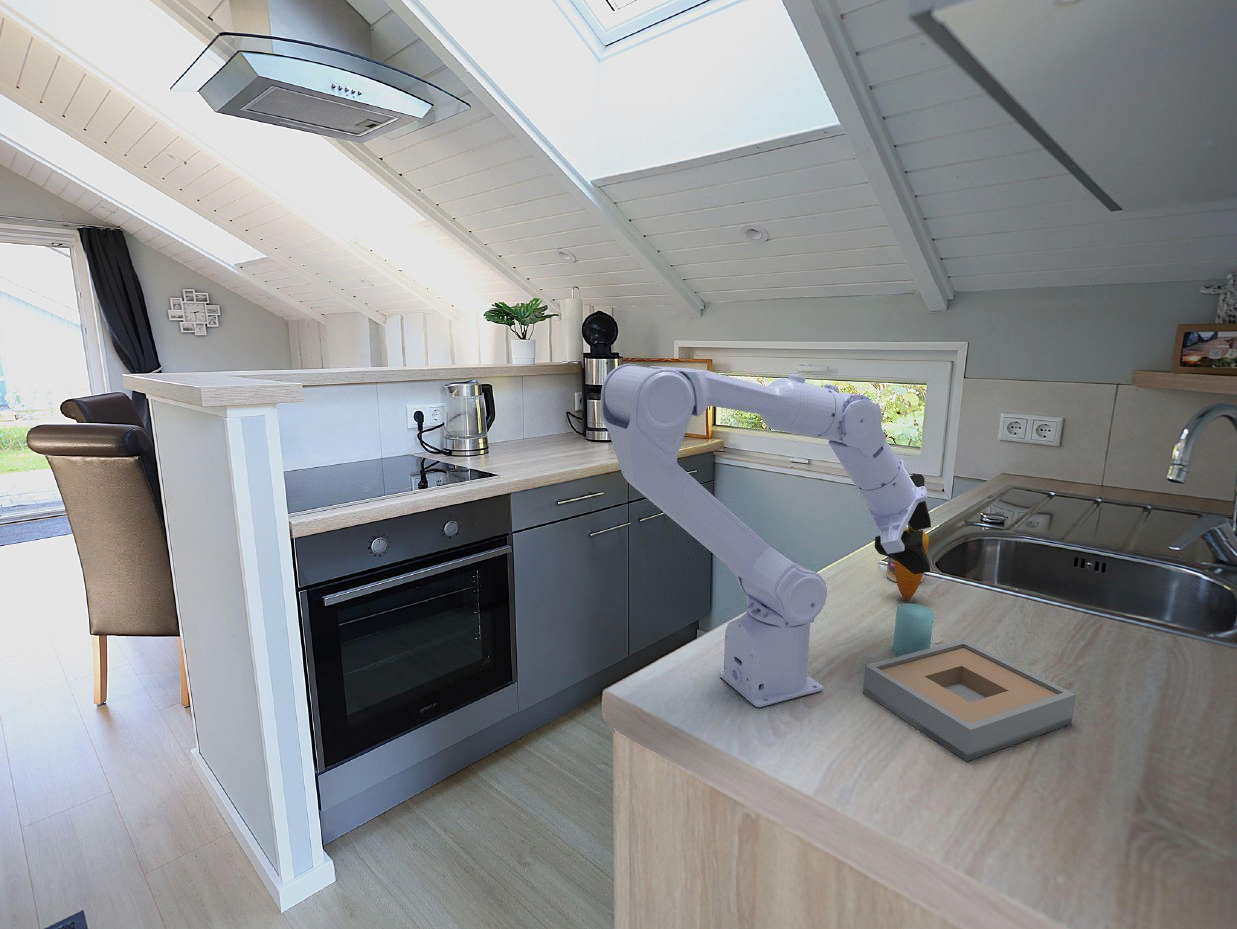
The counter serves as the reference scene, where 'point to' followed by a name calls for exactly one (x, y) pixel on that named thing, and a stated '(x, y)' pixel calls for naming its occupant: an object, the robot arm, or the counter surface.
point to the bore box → (968, 698)
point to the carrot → (909, 573)
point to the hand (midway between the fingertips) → (922, 548)
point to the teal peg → (912, 629)
